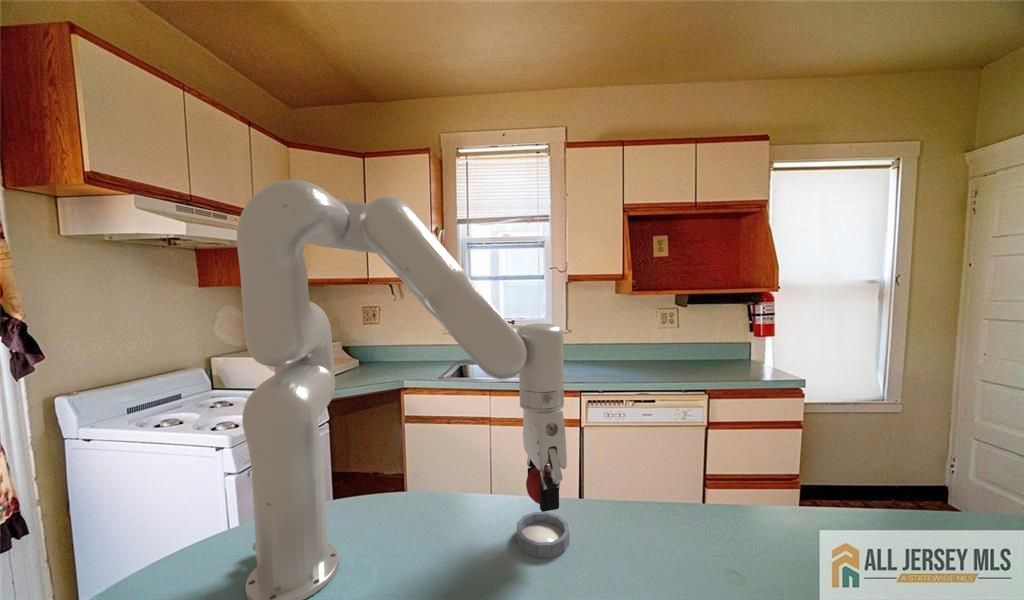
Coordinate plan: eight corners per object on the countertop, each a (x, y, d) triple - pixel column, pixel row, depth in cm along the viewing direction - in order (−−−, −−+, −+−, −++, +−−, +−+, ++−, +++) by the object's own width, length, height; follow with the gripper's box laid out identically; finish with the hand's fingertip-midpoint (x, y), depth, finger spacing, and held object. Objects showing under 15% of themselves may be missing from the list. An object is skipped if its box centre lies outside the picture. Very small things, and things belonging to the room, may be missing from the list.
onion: (558, 517, 65) (557, 470, 65) (523, 513, 66) (523, 467, 66) (561, 497, 71) (560, 454, 70) (529, 494, 72) (528, 451, 71)
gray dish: (507, 546, 67) (507, 534, 67) (531, 518, 75) (531, 506, 75) (555, 565, 63) (555, 552, 63) (576, 532, 71) (576, 521, 70)
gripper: (583, 411, 60) (584, 525, 61) (545, 381, 77) (546, 471, 78) (537, 416, 58) (538, 534, 59) (507, 385, 75) (509, 477, 76)
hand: (542, 497), depth 68 cm, fingers closed on onion, 5 cm apart
